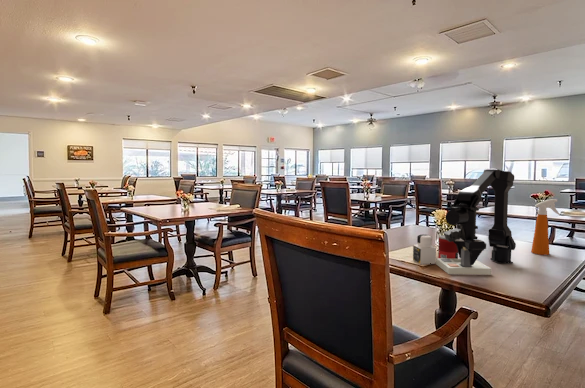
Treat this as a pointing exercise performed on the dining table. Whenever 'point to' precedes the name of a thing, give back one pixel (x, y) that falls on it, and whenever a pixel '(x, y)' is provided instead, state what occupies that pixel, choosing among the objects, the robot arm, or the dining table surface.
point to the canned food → (447, 248)
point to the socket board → (455, 267)
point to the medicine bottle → (424, 250)
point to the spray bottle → (542, 228)
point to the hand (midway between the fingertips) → (466, 261)
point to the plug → (465, 258)
